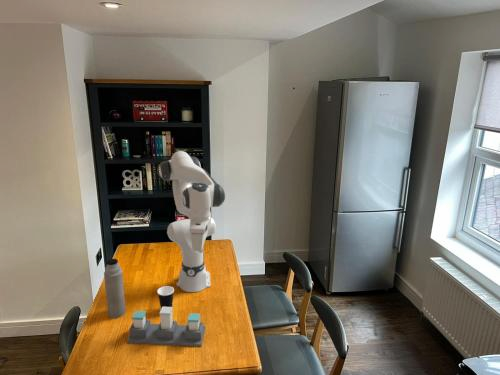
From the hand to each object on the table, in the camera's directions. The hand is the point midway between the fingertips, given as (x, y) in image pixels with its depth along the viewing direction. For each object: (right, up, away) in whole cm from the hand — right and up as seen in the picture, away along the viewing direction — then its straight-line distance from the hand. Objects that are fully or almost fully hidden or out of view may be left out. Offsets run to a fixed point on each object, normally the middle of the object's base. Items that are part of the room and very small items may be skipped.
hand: (201, 251), depth 159 cm
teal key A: (-27, -36, +2) cm, 45 cm away
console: (-15, -38, +2) cm, 41 cm away
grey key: (-15, -34, +1) cm, 37 cm away
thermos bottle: (-43, -33, +17) cm, 56 cm away
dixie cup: (-20, -33, +20) cm, 43 cm away
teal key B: (-3, -37, +2) cm, 37 cm away
